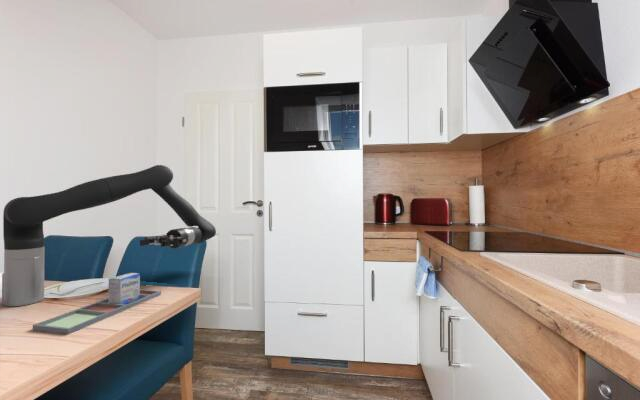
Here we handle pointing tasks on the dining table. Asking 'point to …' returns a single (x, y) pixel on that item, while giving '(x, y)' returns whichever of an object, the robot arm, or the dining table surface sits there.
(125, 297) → the medicine box
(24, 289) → the robot arm
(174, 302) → the dining table surface
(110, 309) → the tray
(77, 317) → the pad
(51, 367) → the dining table surface
